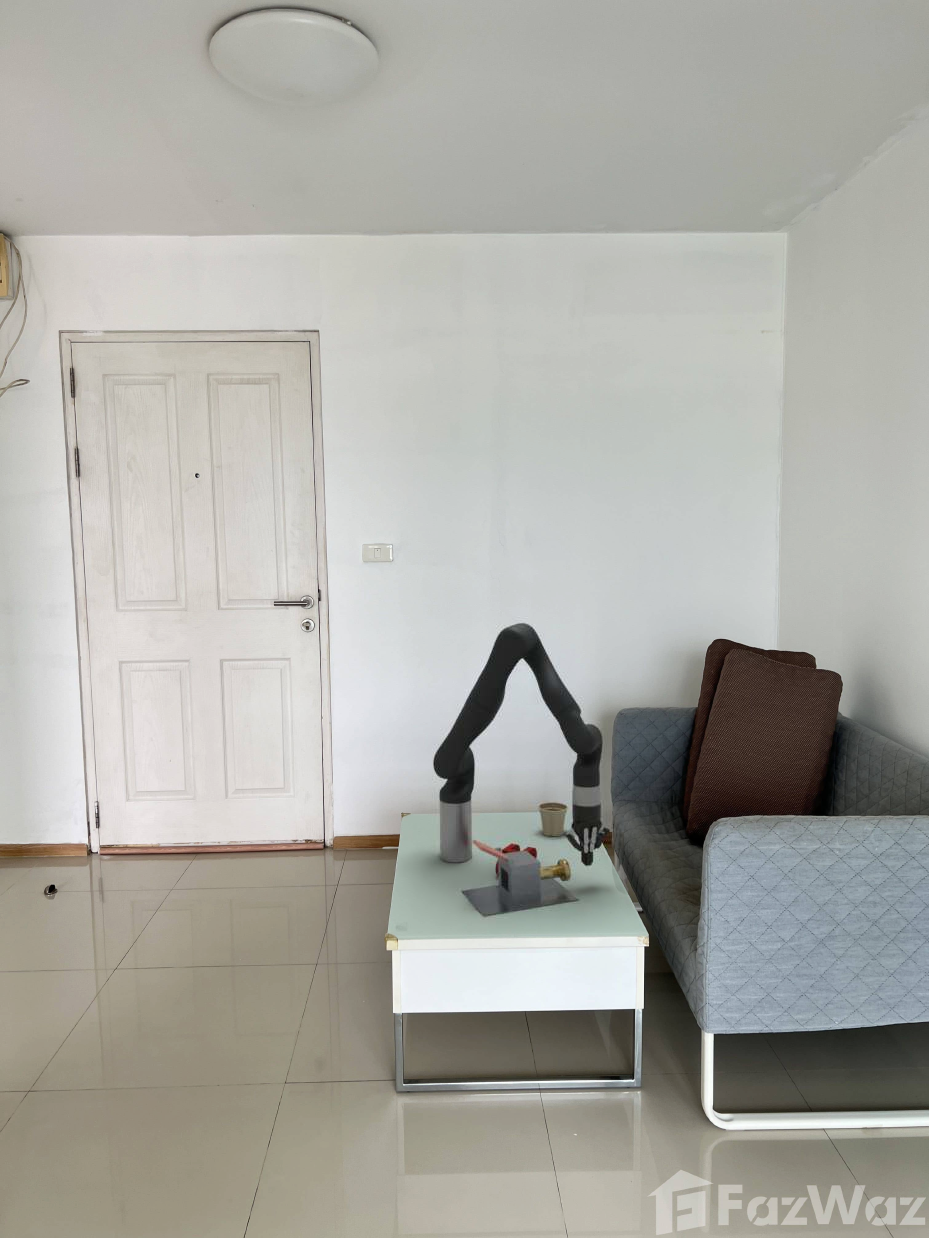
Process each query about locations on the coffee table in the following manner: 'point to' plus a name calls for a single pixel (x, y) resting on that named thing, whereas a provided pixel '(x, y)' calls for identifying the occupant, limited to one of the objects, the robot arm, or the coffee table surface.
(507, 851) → the mechanical linkage
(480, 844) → the latch flap
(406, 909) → the coffee table surface
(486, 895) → the latch base plate
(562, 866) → the brass pin
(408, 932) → the coffee table surface
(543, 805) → the flower pot
